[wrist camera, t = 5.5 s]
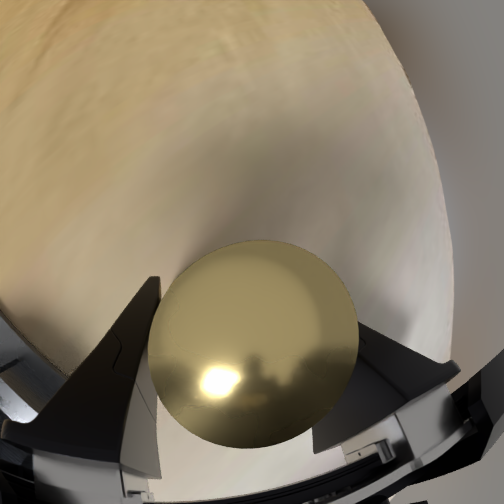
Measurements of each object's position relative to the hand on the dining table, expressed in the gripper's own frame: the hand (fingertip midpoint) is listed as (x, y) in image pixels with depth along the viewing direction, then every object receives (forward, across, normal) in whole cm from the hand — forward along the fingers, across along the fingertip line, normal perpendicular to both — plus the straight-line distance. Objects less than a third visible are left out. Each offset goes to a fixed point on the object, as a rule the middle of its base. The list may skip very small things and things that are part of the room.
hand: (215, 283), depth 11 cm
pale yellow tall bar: (+4, 0, -6) cm, 7 cm away
